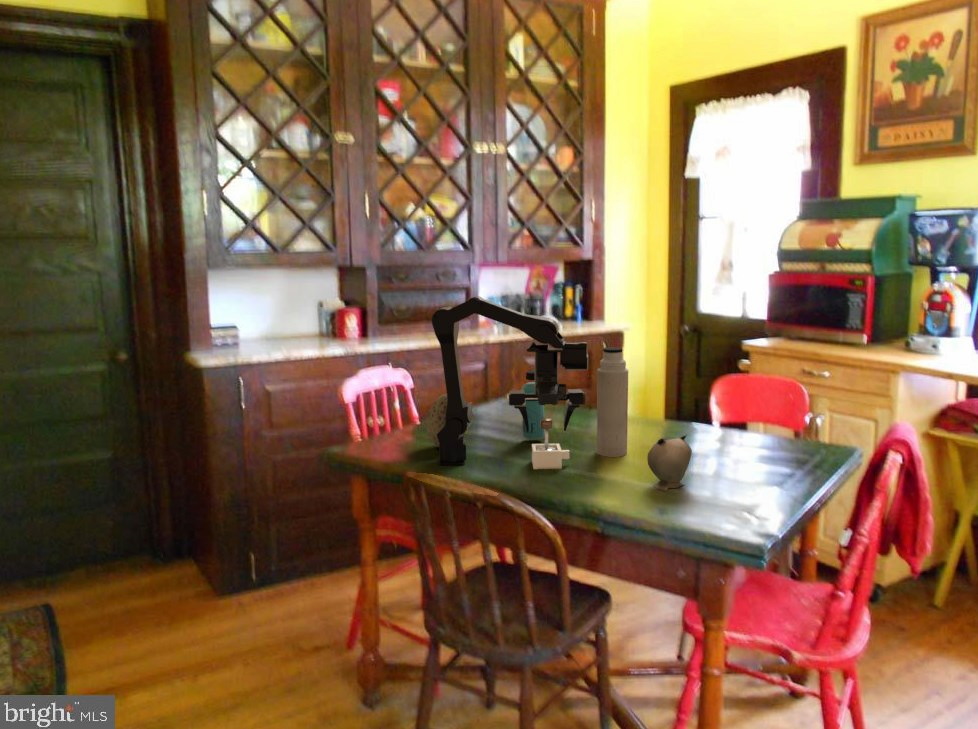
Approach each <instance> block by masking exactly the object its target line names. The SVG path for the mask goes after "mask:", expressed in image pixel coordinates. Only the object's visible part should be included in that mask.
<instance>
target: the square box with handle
mask: <svg viewBox="0 0 978 729" xmlns="http://www.w3.org/2000/svg"><path fill="white" fill-rule="evenodd" d="M539 447H545V443H532V444H531V463H532V468H533V470H561V469H562V468H563V467H562V466H563V464H562V463H563V462H562V461H563V460H570V450H569V449H562V447H561V444H560V443H548V447H553V448H555V449H556V450H552V451H537V449H538V448H539Z"/></svg>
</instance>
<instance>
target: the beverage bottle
mask: <svg viewBox="0 0 978 729" xmlns="http://www.w3.org/2000/svg"><path fill="white" fill-rule="evenodd" d="M525 380H527V381H530V382H526V383H524V384H523V386H522V387H521V390H524V392H525V394H531V393H535V370H527V371H526V372H525ZM531 381H532V382H531ZM525 403H526V409H527V416H528V423H529V431H527V429H526V426H525V423H524V419H523V418H522V420H521V426H522V427H521V428H522V429H521V431H522V433H521V434H522V437H523V438H524V439H529V440H541V439H543V438H545V429H542V428H540V419H543V418H545V405H540V404H539V403H538V401H525Z"/></svg>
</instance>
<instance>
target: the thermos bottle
mask: <svg viewBox="0 0 978 729" xmlns="http://www.w3.org/2000/svg"><path fill="white" fill-rule="evenodd" d="M602 352H603V358H602V359H601V360H599V367H598V368H597V370H596V371H597V374H596V375H597V376H596V384H597V385H596V419H597V420H596V421H597V422H596V454H598V455H600V456H603V457H609V458H610V457H614V458H616V457H623V456H626V455H627V454H628V427H629V426H628V425H629V424H628V422H629V420H628V409H629V407H628V406H629V369H628V368H626V367H627V366H626V365H627V362H626V359H624V358H623V348H622V347H616V346H615V347H614V346H609V347H604V348H603V349H602Z"/></svg>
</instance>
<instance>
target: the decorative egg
mask: <svg viewBox="0 0 978 729" xmlns="http://www.w3.org/2000/svg"><path fill="white" fill-rule="evenodd" d="M446 407H447V393H445V394H442V395H440V396H438V397H437V398H436V399H435V401H434V402H433V403H432V405H431V407H430V409H429V411H428V413H427V417H426V433H427V436H428V437H429V440H430V441H431V442H432V443H433V444H434V445H435V446H437V447H438V448H439V440H438V438H437V433H438V432H439V431H440V430H441V429H442V428H443V427H444V426H445V415H446ZM465 434H466V432H465V433H464V434H463V435H462V436H464V437H465Z"/></svg>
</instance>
